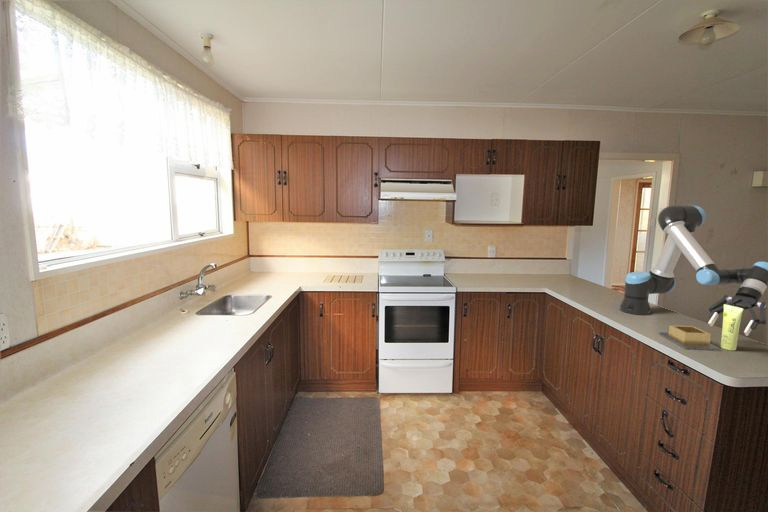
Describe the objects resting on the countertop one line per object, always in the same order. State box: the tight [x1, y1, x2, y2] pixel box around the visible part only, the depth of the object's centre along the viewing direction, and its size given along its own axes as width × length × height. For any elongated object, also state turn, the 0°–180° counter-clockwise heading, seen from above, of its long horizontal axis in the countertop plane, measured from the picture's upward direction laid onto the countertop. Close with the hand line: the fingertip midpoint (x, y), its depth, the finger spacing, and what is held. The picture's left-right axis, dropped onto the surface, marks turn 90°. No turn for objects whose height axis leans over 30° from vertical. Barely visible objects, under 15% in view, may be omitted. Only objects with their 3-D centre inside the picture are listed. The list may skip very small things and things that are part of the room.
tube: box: [720, 303, 744, 351], centre depth 152 cm, size 6×5×20 cm
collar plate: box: [658, 325, 722, 352], centre depth 161 cm, size 18×14×6 cm
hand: (727, 329), depth 151 cm, fingers open, 11 cm apart
